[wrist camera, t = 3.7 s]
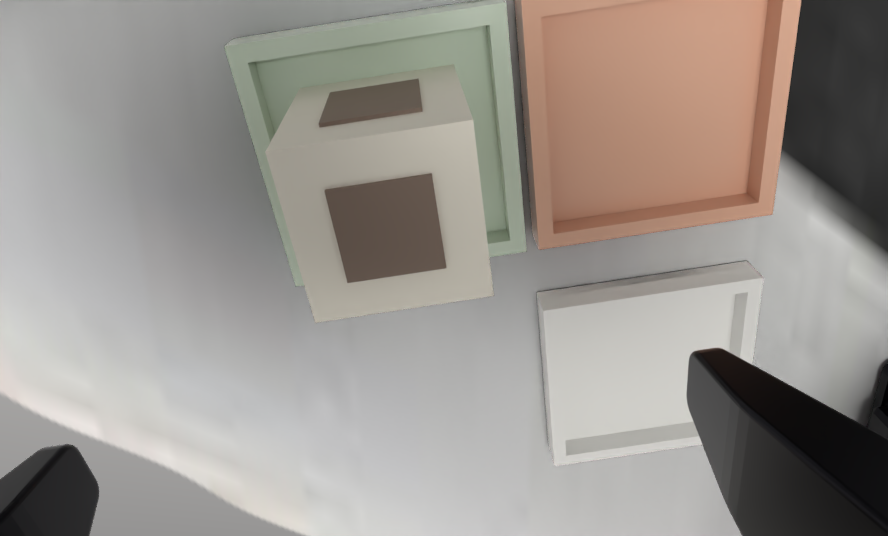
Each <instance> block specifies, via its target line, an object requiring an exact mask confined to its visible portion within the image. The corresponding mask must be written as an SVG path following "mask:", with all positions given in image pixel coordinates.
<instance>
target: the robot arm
mask: <svg viewBox="0 0 888 536" xmlns="http://www.w3.org/2000/svg"><path fill="white" fill-rule="evenodd" d="M686 397H687V404H688V408H689V411H690V414H691V417H692V419H693V422H694V424H695V427H696V429H697V432H698V434H699V437H700V439H701V442H702V445H703V447H704V450H705V452H706V455H707V457H708V460H709V462H710V465H711V467H712V470H713V472H714V475H715V478H716V480H717V483H718V485H719V488H720V490H721V493H722V495H723V497H724V500H725V502H726V504H727V507H728V509H729V511H730V513H731V515H732V517H733V519H734V521H735V523H736V525H737V526H738V528H739V530H740V532H741V534H742V536H888V364H887V365H886V366H885V367H884V368H883V370H882V373H881V377H880V380H879V384H878V388H877V392H876V395H875V399H874V403H873V407H872V411H871V414H870V418H869V422H868V426H867V427H865V426H863V425H861V424H860V423H858V422H856V421H854V420H852V419H850V418H849V417H847V416H845V415H843V414H841V413H839V412H838V411H836V410H834V409H832V408H830V407H829V406H827V405H825V404H823V403H821V402H819V401H818V400H816V399H814V398H812V397H810V396H808V395H807V394H805V393H803V392H801V391H799V390H798V389H796V388H794V387H792V386H790V385H788V384H787V383H785V382H783V381H781V380H779V379H777V378H776V377H774V376H772V375H770V374H768V373H767V372H765V371H763V370H761V369H759V368H757V367H756V366H754V365H752V364H750V363H748V362H746V361H745V360H743V359H741V358H739V357H737V356H736V355H734V354H732V353H730V352H728V351H726V350H724V349H722V348H710V349H703V350H696V351H694V352H692V353H691V355H690V357H689V363H688V378H687V392H686ZM98 498H99V487H98V483H97V481H96V479H95V477H94V475H93V474H92V472H91V470H90V469H89V467H88V465H87V464H86V462H85V460H84V458H83V457H82V455H81V453H80V452H79V450H78V449H77V448H76V447H75V446H73V445H69V444H64V445H57V446H51V447H46V448H42V449H40V450H38V451H37V452H36V453H34V454H33V455H32V456H30V457H29V458H28V459H26V460H25V461H24V462H22V463H21V464H20V465H19V466H17V467H16V468H14V469H13V470H12V471H11V472H9V473H8V474H6V475H5V476H4V477H2V478H1V479H0V536H89V535H90V531H91V527H92V523H93V519H94V515H95V511H96V507H97V503H98Z"/></svg>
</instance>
